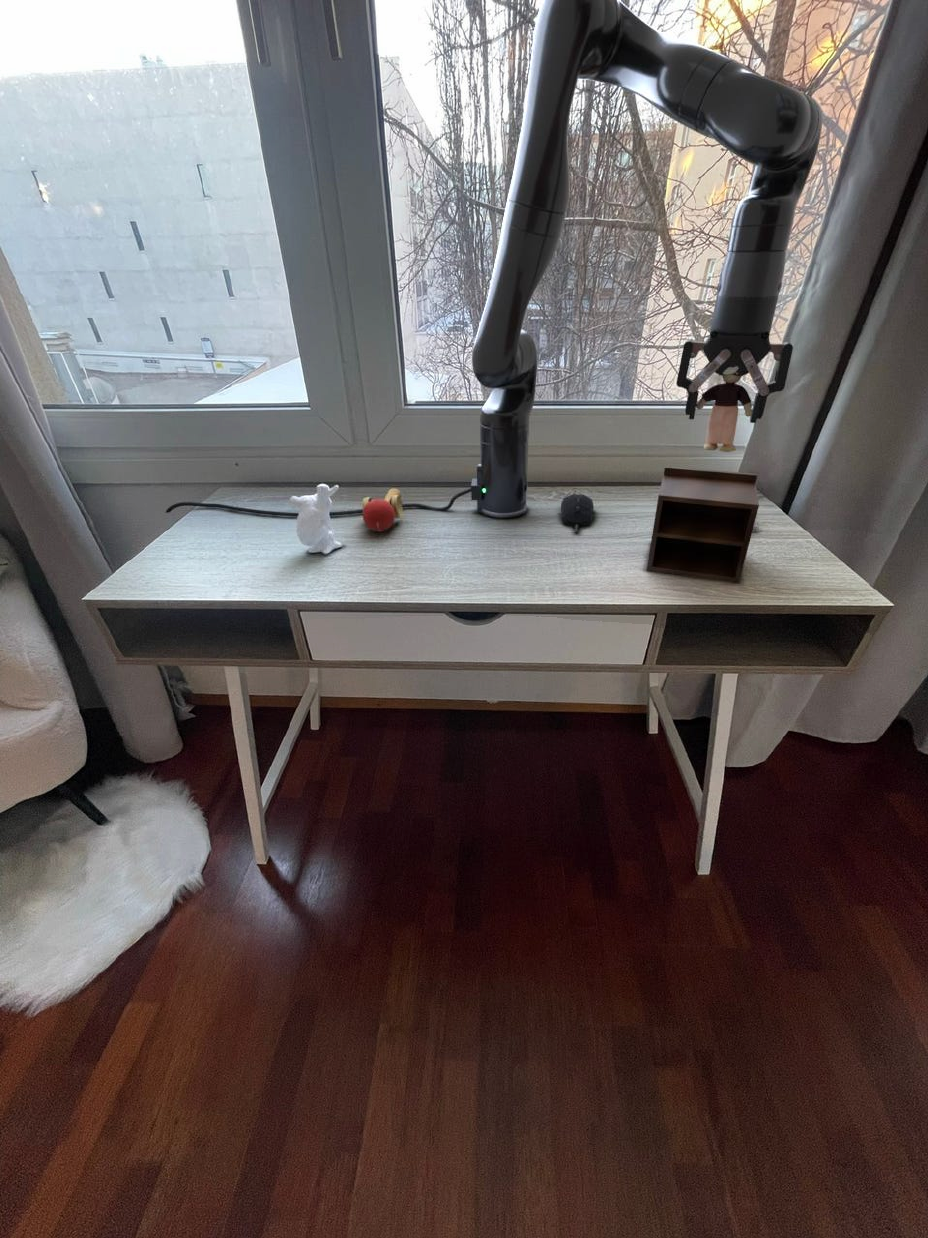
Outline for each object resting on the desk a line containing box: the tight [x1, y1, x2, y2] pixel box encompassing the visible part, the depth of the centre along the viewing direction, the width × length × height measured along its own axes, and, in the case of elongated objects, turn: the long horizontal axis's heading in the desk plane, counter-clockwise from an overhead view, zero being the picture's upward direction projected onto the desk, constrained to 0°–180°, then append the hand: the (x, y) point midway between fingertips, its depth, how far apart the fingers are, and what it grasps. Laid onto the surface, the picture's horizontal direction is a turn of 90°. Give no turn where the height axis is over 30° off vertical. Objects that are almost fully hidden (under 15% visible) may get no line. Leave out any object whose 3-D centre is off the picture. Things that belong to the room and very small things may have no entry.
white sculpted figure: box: [289, 483, 343, 555], centre depth 102 cm, size 8×7×12 cm
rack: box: [646, 465, 760, 584], centre depth 95 cm, size 14×11×14 cm
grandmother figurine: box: [696, 366, 753, 453], centre depth 85 cm, size 8×4×13 cm, turn 70°
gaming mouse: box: [560, 493, 594, 534], centre depth 114 cm, size 6×15×4 cm, turn 170°
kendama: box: [362, 487, 404, 533], centre depth 116 cm, size 8×6×18 cm
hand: (721, 419), depth 86 cm, fingers closed on grandmother figurine, 8 cm apart
